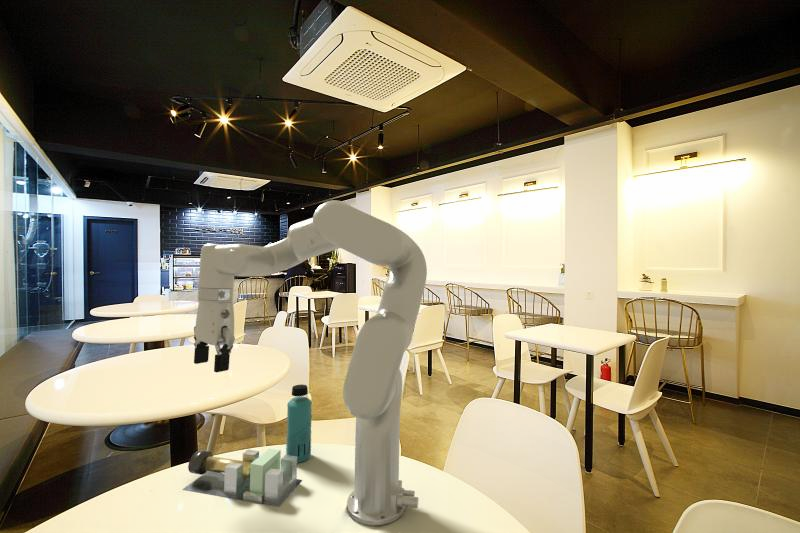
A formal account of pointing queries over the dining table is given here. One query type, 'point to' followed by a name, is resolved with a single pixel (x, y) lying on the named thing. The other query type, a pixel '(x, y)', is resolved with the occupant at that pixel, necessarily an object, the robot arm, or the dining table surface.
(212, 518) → the dining table surface
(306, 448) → the beverage bottle
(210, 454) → the shaft
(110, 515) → the dining table surface
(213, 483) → the rig
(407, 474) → the dining table surface
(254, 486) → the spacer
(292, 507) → the dining table surface
